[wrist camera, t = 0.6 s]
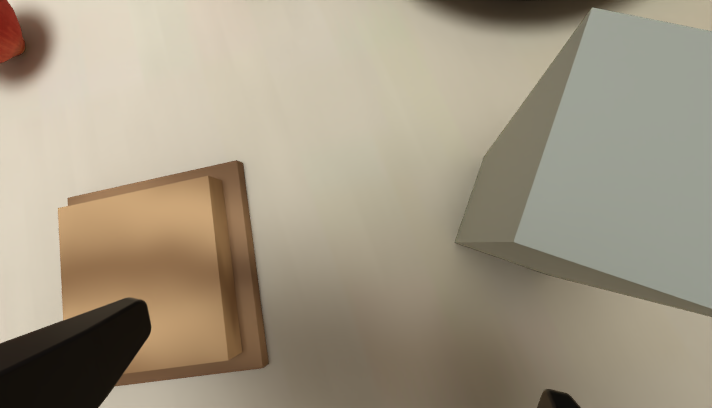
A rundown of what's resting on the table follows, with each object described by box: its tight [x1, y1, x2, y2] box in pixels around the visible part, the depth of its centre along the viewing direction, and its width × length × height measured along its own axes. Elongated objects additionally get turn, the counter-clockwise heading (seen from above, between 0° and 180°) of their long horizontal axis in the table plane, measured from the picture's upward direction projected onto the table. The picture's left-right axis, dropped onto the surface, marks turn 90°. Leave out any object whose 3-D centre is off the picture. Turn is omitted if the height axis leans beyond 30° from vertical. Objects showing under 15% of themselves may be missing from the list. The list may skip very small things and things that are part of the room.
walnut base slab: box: [68, 160, 269, 386], centre depth 23 cm, size 12×12×2 cm
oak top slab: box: [58, 176, 242, 374], centre depth 21 cm, size 10×10×2 cm
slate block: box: [455, 7, 712, 317], centre depth 13 cm, size 5×5×13 cm
